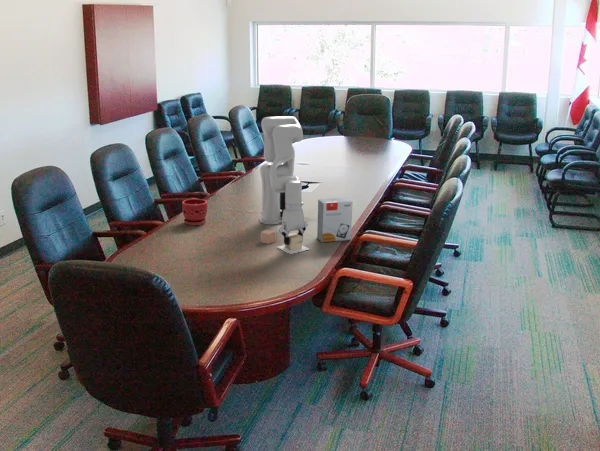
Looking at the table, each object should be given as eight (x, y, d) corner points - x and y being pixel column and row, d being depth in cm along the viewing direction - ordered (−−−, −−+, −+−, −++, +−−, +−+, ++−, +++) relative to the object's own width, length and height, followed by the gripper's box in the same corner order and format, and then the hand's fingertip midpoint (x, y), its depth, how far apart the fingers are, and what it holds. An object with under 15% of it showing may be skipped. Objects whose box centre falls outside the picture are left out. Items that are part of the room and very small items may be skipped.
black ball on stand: (273, 213, 365) (273, 187, 361) (294, 210, 370) (295, 185, 366) (282, 220, 354) (282, 193, 349) (304, 217, 359) (305, 190, 354)
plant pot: (205, 226, 342) (205, 204, 338) (180, 226, 342) (179, 204, 338) (209, 219, 354) (208, 198, 350) (185, 219, 354) (184, 197, 351)
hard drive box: (321, 242, 318) (322, 203, 312) (316, 237, 325) (317, 199, 319) (351, 240, 322) (352, 201, 316) (346, 235, 329) (347, 197, 323)
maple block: (284, 247, 310) (284, 235, 308) (295, 244, 313) (295, 232, 312) (291, 250, 305) (291, 238, 304) (302, 248, 309) (302, 236, 307)
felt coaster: (277, 247, 311) (277, 246, 311) (296, 243, 317) (296, 242, 317) (290, 254, 302) (290, 253, 302) (309, 250, 308) (309, 248, 308)
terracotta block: (260, 241, 320) (260, 232, 318) (267, 239, 323) (267, 229, 322) (268, 244, 317) (268, 234, 315) (275, 241, 320) (275, 231, 319)
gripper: (304, 201, 311) (303, 237, 316) (273, 207, 301) (273, 244, 307) (313, 205, 305) (313, 241, 310) (282, 211, 296) (282, 248, 301)
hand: (293, 242), depth 309 cm, fingers open, 7 cm apart
